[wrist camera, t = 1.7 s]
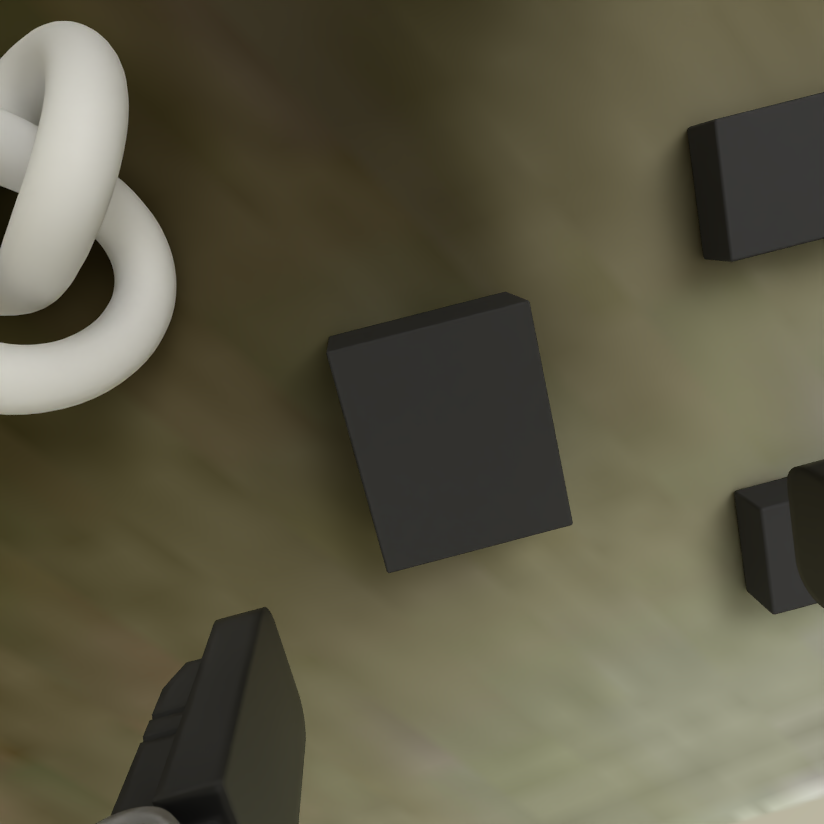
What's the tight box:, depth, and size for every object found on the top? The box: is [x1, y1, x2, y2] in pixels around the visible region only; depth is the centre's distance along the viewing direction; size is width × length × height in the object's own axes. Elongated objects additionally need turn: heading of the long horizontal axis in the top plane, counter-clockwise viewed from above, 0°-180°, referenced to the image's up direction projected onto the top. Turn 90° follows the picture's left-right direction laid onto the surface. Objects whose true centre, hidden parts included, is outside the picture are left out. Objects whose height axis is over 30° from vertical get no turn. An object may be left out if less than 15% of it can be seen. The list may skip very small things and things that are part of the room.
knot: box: [0, 21, 177, 415], centre depth 15 cm, size 8×8×6 cm
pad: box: [327, 292, 573, 573], centre depth 19 cm, size 6×5×2 cm
